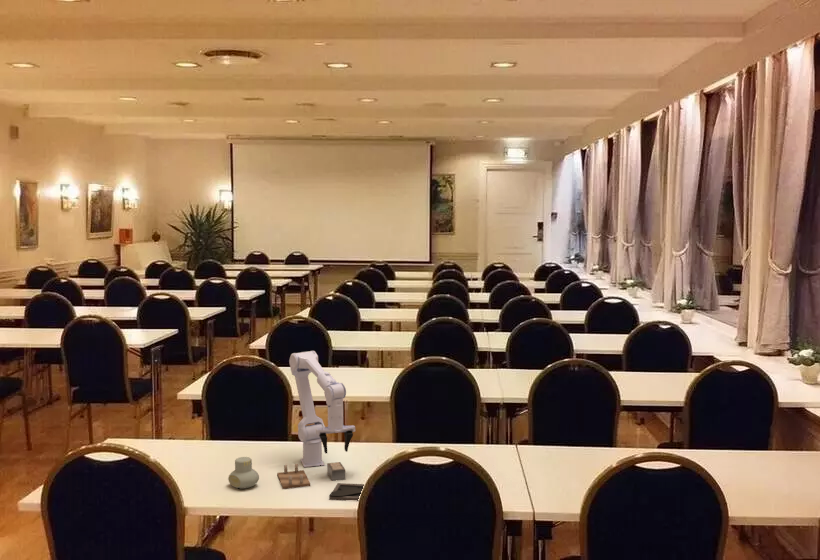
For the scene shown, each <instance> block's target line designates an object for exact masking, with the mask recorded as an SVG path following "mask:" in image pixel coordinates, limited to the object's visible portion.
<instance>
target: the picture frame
mask: <svg viewBox="0 0 820 560" xmlns="http://www.w3.org/2000/svg"><path fill="white" fill-rule="evenodd" d="M363 486H364V484H363V483H341V482H340V483H339V482H338V483H337V484H336V485H335V487H334V488H333V490H332V491H331V492H330V494H329V496H328V498H329V499H328V500H331V501H346V500H357V501H356V502H359V501H358V499H359V496H360V494H361V491H362V489H363Z"/></svg>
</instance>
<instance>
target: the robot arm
mask: <svg viewBox="0 0 820 560" xmlns="http://www.w3.org/2000/svg"><path fill="white" fill-rule="evenodd" d="M288 362H289V367H290V372H291V375H292V376H294V379H295V384H296V389H297V394H298V398H299V400H298V401H299V404H300V407H301V408H300V409H301V414H302V418H301V420H300V421H299V422H298V424H297V435H298V436H297V437H298V439H299V441H300V442H302V458H300V461H301V463H302V465H303V467H304V468H311V467H319V466H320V465H321V466H325V462H324V461H323V456H322V455H323V453H324V454H328V436H327V435H329V434H337V433H338V434H340V433H344V434H343V435H344V451H345V452H346V453H347V452H348V450H349V445H350V443H351V441H352V438H353V436H354V433H355V432H356V426H355V425H353V424H352V425H344V399H345V398H346V395H347V390H346V387H345V384H344V383H343V382H339V381H337V380H336V379H335V378H334V377H333V375H332V374H331V373H330V372H328V371H325V370H324V368H323V367H322V365H321V364H320V363H319V355H318V354H317V352H316V351H315V350H310V351H301V352H293V353H291V354H290V357H289V360H288ZM311 373H312V374H313V375H314V376H315V377H316V383H317V384H318V385H319V386H320V387H321V389H322V391H324V392H323V393H324V397H325V398H324V399H325V402H326V405H327V426H325V424H324V421H323V418H321V417H319V416H318V415H317V414H316V409H315V405H314V399H313V394H312V391H311V390H312V389H311V385H310V380H309V375H310V374H311Z"/></svg>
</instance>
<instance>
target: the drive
mask: <svg viewBox="0 0 820 560" xmlns="http://www.w3.org/2000/svg"><path fill="white" fill-rule="evenodd" d="M326 465H327V468H326V473H327V475H328V477H329V476H330V477H329V479H330V480H331V481H332V482H335V481H336V480H337V481H343V480H344V481H345V480H346V469H345V466H343V463H342V462H341V461H339V462H327V463H326ZM337 481H336V482H337Z"/></svg>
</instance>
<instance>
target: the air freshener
mask: <svg viewBox="0 0 820 560" xmlns="http://www.w3.org/2000/svg"><path fill="white" fill-rule="evenodd" d="M259 479H260V475H259V473H258V472H257V471H256V470H255V469H253V464H252V458H251V457H250V456H249V457H248V456H240V457H238V458H235V460H234V470H232V471H231V472H230V474H229V475H228V478H227V480H228V483H229V484H230V485H231V486H232V487H234V488H236V489H238V488H240V489H241V490H242V489H249V488H251V487H253V486H255V485H256V484H257V483H258V482H259ZM240 489H239V490H240Z"/></svg>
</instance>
